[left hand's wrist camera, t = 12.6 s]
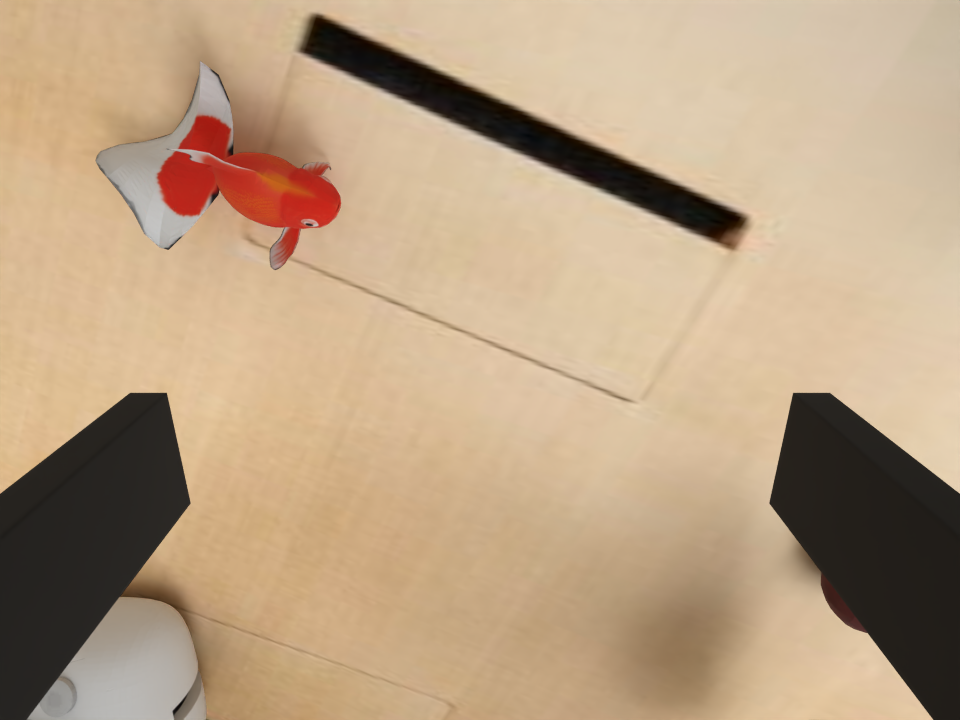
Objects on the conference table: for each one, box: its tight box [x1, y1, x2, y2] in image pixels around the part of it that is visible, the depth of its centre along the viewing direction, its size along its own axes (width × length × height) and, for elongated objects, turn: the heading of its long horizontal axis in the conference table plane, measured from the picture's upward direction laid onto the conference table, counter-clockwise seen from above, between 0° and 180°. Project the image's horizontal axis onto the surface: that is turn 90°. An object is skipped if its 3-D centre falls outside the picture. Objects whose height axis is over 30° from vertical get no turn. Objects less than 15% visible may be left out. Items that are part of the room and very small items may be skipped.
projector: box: [27, 597, 206, 720], centre depth 49 cm, size 22×23×15 cm
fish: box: [96, 61, 341, 270], centre depth 37 cm, size 11×16×10 cm
